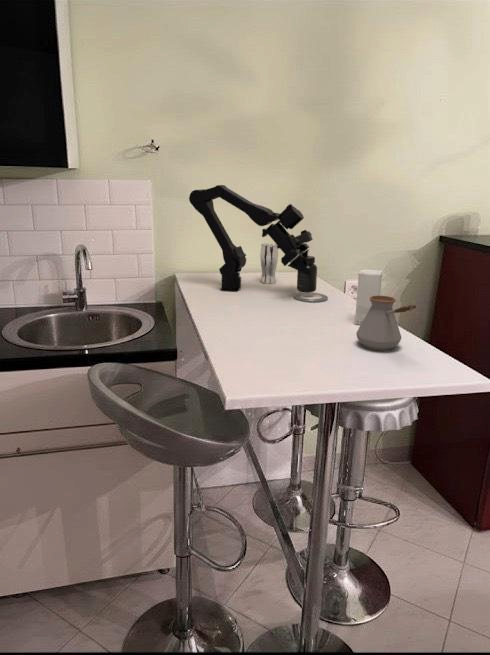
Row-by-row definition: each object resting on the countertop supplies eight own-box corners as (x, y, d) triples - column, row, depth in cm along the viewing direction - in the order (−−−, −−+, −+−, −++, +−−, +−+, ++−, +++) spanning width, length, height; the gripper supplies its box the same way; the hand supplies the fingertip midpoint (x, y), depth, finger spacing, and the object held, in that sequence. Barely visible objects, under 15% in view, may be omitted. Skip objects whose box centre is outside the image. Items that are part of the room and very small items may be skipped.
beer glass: (257, 281, 206) (258, 243, 202) (273, 280, 208) (274, 243, 204) (262, 284, 200) (264, 246, 196) (279, 284, 202) (281, 245, 198)
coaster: (292, 301, 177) (292, 299, 177) (295, 293, 188) (295, 291, 188) (327, 303, 175) (327, 301, 175) (328, 295, 186) (328, 293, 186)
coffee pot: (348, 339, 139) (353, 285, 134) (387, 337, 141) (393, 284, 137) (385, 369, 119) (393, 307, 115) (430, 366, 122) (439, 305, 117)
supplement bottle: (306, 287, 186) (308, 254, 182) (319, 291, 181) (322, 257, 177) (292, 289, 182) (294, 256, 178) (305, 293, 177) (308, 259, 173)
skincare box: (375, 327, 151) (381, 275, 146) (352, 324, 153) (357, 272, 148) (378, 319, 158) (383, 269, 153) (356, 317, 160) (361, 267, 155)
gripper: (292, 225, 167) (323, 261, 167) (305, 220, 184) (333, 253, 184) (268, 247, 172) (298, 283, 172) (282, 240, 189) (310, 273, 189)
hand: (311, 272), depth 179 cm, fingers closed on supplement bottle, 7 cm apart
